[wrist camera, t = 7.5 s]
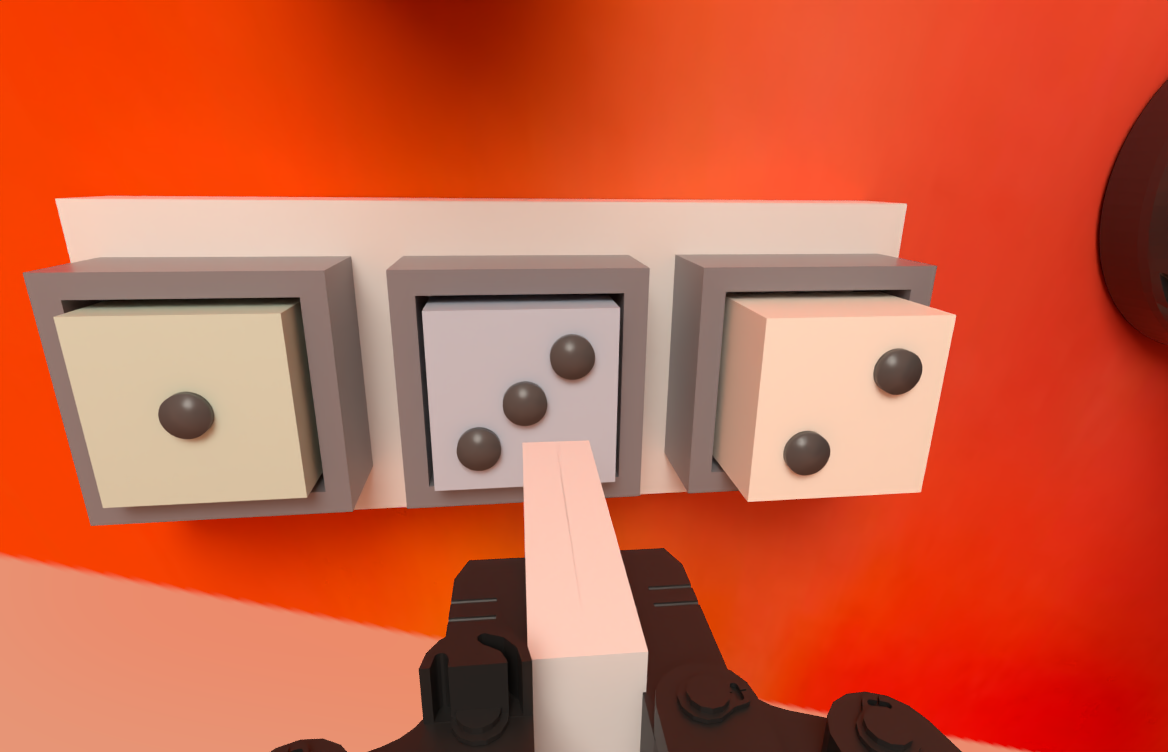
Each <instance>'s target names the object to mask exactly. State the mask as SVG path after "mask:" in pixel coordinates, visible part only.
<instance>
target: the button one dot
mask: <svg viewBox="0 0 1168 752" xmlns="http://www.w3.org/2000/svg"><path fill="white" fill-rule="evenodd" d="M53 318H54V322H55V326H56V329H57V333H58V337H59V341H60V345H61V349H62V352H63V356H64V360H65V364H66V368H67V372H68V375H69V379H70V383H71V387H72V391H73V395H74V399H75V402H76V406H77V410H78V414H79V418H80V422H81V425H82V429H83V433H84V437H85V441H86V445H87V448H88V452H89V456H90V460H91V464H92V468H93V471H94V475H95V479H96V483H97V487H98V491H99V494H100V498H101V502H102V506H103V508H114V507H134V506H153V505H173V504H192V503H212V502H232V501H251V500H271V499H290V498H307V497H308V495H309V494H310V492H311V490H312V489H313V487H314V485H315V484H316V482H317V480H318V479H319V477H320V475H321V474H322V472H323V468H322V461H321V453H320V446H319V438H318V431H317V423H316V416H315V408H314V401H313V393H312V386H311V378H310V371H309V363H308V356H307V348H306V341H305V333H304V326H303V318H302V311H301V303H300V297H277V298H198V299H119V300H106V301H102V302H99V303H96V304H93V305H90V306H87V307H83V308H80V309H77V310H74V311H71V312H68V313H64V314H61V315H58V316H55V317H53Z"/></svg>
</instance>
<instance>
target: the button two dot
mask: <svg viewBox="0 0 1168 752" xmlns="http://www.w3.org/2000/svg"><path fill="white" fill-rule="evenodd" d="M955 319H956V315H955V314H951V313H948V312H945V311H942V310H938V309H935V308H932V307H928V306H925V305H922V304H919V303H915V302H912V301H909V300H906V299H902V298H899V297H896V296H893V295H889V294H886V293H883V292H807V293H731V294H726V296H725V308H724V320H723V333H722V345H721V357H720V369H719V381H718V393H717V406H716V418H715V430H714V442H713V454H712V455H713V456H714V458H715V459H716V460H717V462H718V463H719V464H720V466H721V467H722V468H723V470H724V471H725V472H726V474H727V475H728V476H729V478H730V479H731V480H732V482H733V483H734V484H735V486H736V487H737V488H738V490H739V491H740V492H741V494H742V495H743V496H744V498H745V499H746V500H747V502H755V501H772V500H790V499H808V498H825V497H843V496H861V495H878V494H896V493H914V492H921V488H922V483H923V478H924V473H925V468H926V464H927V459H928V454H929V449H930V444H931V439H932V434H933V429H934V424H935V419H936V414H937V409H938V404H939V399H940V394H941V389H942V384H943V379H944V374H945V369H946V364H947V359H948V354H949V349H950V344H951V339H952V334H953V329H954V324H955Z"/></svg>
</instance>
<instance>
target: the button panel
mask: <svg viewBox="0 0 1168 752" xmlns="http://www.w3.org/2000/svg"><path fill="white" fill-rule="evenodd" d="M55 200H56V204H57V208H58V212H59V216H60V220H61V224H62V228H63V232H64V236H65V240H66V245H67V249H68V253H69V257H70V261H71V263H69V264H64V265H59V266H54V267H49V268H44V269H39V270H34V271H29V272H24V273H23V276H24V279H25V283H26V287H27V290H28V294H29V298H30V301H31V305H32V309H33V313H34V316H35V320H36V324H37V327H38V331H39V335H40V338H41V342H42V346H43V350H44V353H45V357H46V361H47V364H48V368H49V372H50V376H51V379H52V383H53V387H54V390H55V394H56V398H57V401H58V405H59V409H60V413H61V416H62V420H63V424H64V427H65V431H66V435H67V438H68V442H69V446H70V450H71V453H72V457H73V461H74V464H75V468H76V472H77V476H78V479H79V483H80V487H81V490H82V494H83V498H84V501H85V505H86V509H87V513H88V516H89V520H90V524H91V526H95V525H113V524H131V523H150V522H168V521H187V520H205V519H224V518H242V517H261V516H279V515H298V514H316V513H334V512H353V510H358V509H377V508H395V507H407V509H408V508H427V507H445V506H464V505H482V504H500V503H519V502H524V490H523V487H505V488H485V489H466V490H446V491H435V486H434V473H433V459H432V445H431V431H430V417H429V403H428V389H427V375H426V361H425V347H424V334H423V320H422V310H423V308H424V307H425V305H426V303H427V302H428V300H429V298H430V297H431V296H436V295H515V294H594V293H607V294H608V295H609V296H610V297H611V298H612V300H613V301H614V302H615V303H616V304H617V305H618V306H619V307H620V329H619V364H618V398H617V433H616V467H615V482H603V483H601V485H602V489H603V492H604V496H605V498H611V497H630V496H640V494H655V493H674V492H688V493H703V492H722V491H739V490H738V488H737V487H736V486H735V484H734V483H733V482H732V480H731V479H730V478H729V476H728V475H727V474H726V472H725V471H724V470H723V468H722V467H721V466H720V464H719V463H718V462H717V460H716V459H715V458H714V456H713V455H712V454H713V442H714V430H715V418H716V406H717V393H718V381H719V369H720V357H721V345H722V333H723V320H724V308H725V296H726V294H731V293H807V292H883V293H886V294H889V295H893V296H896V297H899V298H902V299H906V300H909V301H912V302H915V303H919V304H922V305H925V306H928V307H929V306H930V301H931V295H932V290H933V285H934V279H935V274H936V269H937V266H935V265H930V264H926V263H921V262H916V261H911V260H906V259H901V258H898V256H899V250H900V244H901V238H902V232H903V226H904V220H905V214H906V208H907V204H903V203H889V202H874V201H820V200H666V199H513V198H360V197H207V196H98V197H79V198H59V199H55ZM277 297H300V303H301V311H302V318H303V326H304V333H305V341H306V348H307V356H308V363H309V371H310V378H311V386H312V393H313V401H314V408H315V416H316V423H317V431H318V438H319V446H320V453H321V461H322V468H323V472H322V474H321V475H320V477H319V479H318V480H317V482H316V484H315V485H314V487H313V489H312V490H311V492H310V494H309V495H308V497H307V498H290V499H271V500H251V501H232V502H212V503H192V504H173V505H153V506H134V507H114V508H103V506H102V502H101V498H100V494H99V491H98V487H97V483H96V479H95V475H94V471H93V468H92V464H91V460H90V456H89V452H88V448H87V445H86V441H85V437H84V433H83V429H82V425H81V422H80V418H79V414H78V410H77V406H76V402H75V399H74V395H73V391H72V387H71V383H70V379H69V375H68V372H67V368H66V364H65V360H64V356H63V352H62V349H61V345H60V341H59V337H58V333H57V329H56V326H55V322H54V318H53V317H55V316H58V315H61V314H64V313H68V312H71V311H74V310H77V309H80V308H83V307H87V306H90V305H93V304H96V303H99V302H102V301H106V300H119V299H198V298H277Z"/></svg>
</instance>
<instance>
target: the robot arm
mask: <svg viewBox="0 0 1168 752" xmlns="http://www.w3.org/2000/svg"><path fill="white" fill-rule="evenodd" d="M1100 257H1101V265H1102V270H1103V275H1104V278H1105V282H1106V285H1107V288H1108V290H1109V293H1110V295H1111V297H1112V299H1113V301H1114V303H1115V305H1116V306H1117V308H1118V310H1119V311H1120V313H1121V314H1122V315H1123V316H1124V318H1125V319H1126V320H1127V321H1128V322H1129V323H1130V324H1131V325H1132V326H1133V327H1134V328H1136V329H1137V330H1138V331H1139V332H1141V333H1142V334H1144V335H1145V336H1147V337H1149V338H1151V339H1153V340H1155V341H1157V342H1160V343H1162V344H1165V345H1168V80H1167V81H1166V82H1165V83H1164V84H1163V85H1162V87H1161V88H1160V89H1159V90H1158V91H1157V93H1156V94H1155V95H1154V97H1153V98H1152V99H1151V100H1150V102H1149V103H1148V105H1147V106H1146V107H1145V109H1144V110H1143V112H1142V113H1141V115H1140V116H1139V118H1138V120H1137V121H1136V123H1135V124H1134V126H1133V128H1132V130H1131V131H1130V133H1129V135H1128V137H1127V139H1126V141H1125V143H1124V145H1123V147H1122V149H1121V151H1120V153H1119V156H1118V158H1117V160H1116V163H1115V165H1114V168H1113V171H1112V174H1111V177H1110V180H1109V183H1108V187H1107V190H1106V194H1105V198H1104V203H1103V208H1102V215H1101V223H1100ZM522 445H523V490H524V535H525V558H507V559H488V560H469V561H468V563H467V564H466V565H465V566H464V568H463V569H462V570H461V572H460V573H459V574H458V575H457V577H456V578H455V579H454V586H453V593H452V599H451V606H450V612H449V623H448V625H447V632H446V637H445V638H443V639H441V640H439V641H438V642H437V644H435V645H434V646H433V647H432V648H431V649H430V650H429V651H428V652H427V653H426V655H425V657H424V659H423V661H422V664H421V666H420V668H419V675H420V688H421V699H422V710H423V720H422V721H421V722H420V723H419V724H418V725H417V726H416V727H415V728H414V729H413V730H411V731H410V732H408V733H407V734H405V735H404V736H403V737H401V738H400V739H398V740H395V741H393V742H391V743H389V744H387V745H385V746H382V747H380V748H377V749H374V750H371V751H369V752H961V751H960V750H959V749H958V748H957V747H956V746H955V745H954V744H953V743H952V742H951V741H950V740H949V739H948V738H947V737H946V736H945V735H943V734H942V733H941V732H940V731H939V730H938V729H937V728H936V727H935V726H934V725H933V724H932V723H931V722H930V721H929V720H927V719H926V718H925V717H923V716H922V715H921V714H919V713H918V712H917V711H915V710H914V709H913V708H911V707H910V706H908V705H906V704H904V703H902V702H899V701H897V700H895V699H893V698H890V697H888V696H885V695H880V694H874V693H869V692H859V693H850V694H846V695H844V696H842V697H841V698H839V699H837V700H836V701H834V702H833V704H832V706H831V708H830V711H829V713H828V715H827V718H824V717H819V716H814V715H809V714H804V713H799V712H794V711H789V710H785V709H782V708H778V707H775V706H771V705H769V704H767V703H765V702H763V701H761V700H759V699H758V697H757V696H756V694H755V693H754V692H753V690H752V689H751V687H750V686H749V685H748V683H747V682H746V681H744V680H743V679H742V678H740V677H739V676H738V675H736V674H735V673H733V672H732V671H730V670H728V669H727V667H726V665H725V662H724V660H723V658H722V655H721V653H720V651H719V648H718V646H717V644H716V642H715V639H714V637H713V635H712V632H711V630H710V628H709V625H708V623H707V621H706V618H705V616H704V614H703V611H702V609H701V607H700V605H698V600H697V598H696V595H695V593H694V591H693V588H691V584H690V581H689V579H688V577H687V574H686V572H685V570H684V568H683V565H682V564H681V563H680V562H679V561H678V560H677V559H675V558H674V557H673V556H672V555H671V554H670V553H669V552H668V551H666V550H665V549H664V548H659V549H640V550H621V551H620V549H619V546H618V542H617V539H616V535H615V532H614V528H613V524H612V521H611V517H610V514H609V510H608V507H607V503H606V499H605V496H604V492H603V489H602V485H601V482H600V478H599V475H598V471H597V467H596V464H595V460H594V457H593V453H592V450H591V446H590V442H589V440H586V441H556V442H527V443H522ZM271 752H347V751H345V749H344V748H343V747H342V746H341V745H339V744H337V743H334V742H331V741H328V740H325V739H307V740H299V741H295V742H293V743H290V744H287V745H284V746H281V747H278V748H276V749H274V750H273V751H271Z"/></svg>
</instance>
